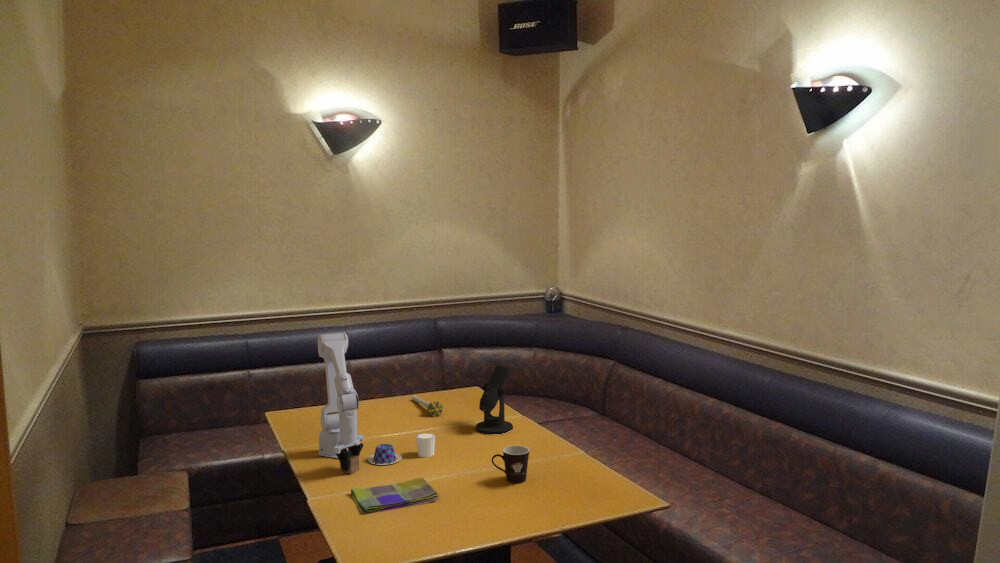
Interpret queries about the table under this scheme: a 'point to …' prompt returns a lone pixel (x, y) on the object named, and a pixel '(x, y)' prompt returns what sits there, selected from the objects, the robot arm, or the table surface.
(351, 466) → the walnut block
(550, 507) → the table surface
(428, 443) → the white tapered cup
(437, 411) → the light stick
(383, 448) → the pudding
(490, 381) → the microphone
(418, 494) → the dish towel
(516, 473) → the coffee mug
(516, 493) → the table surface
